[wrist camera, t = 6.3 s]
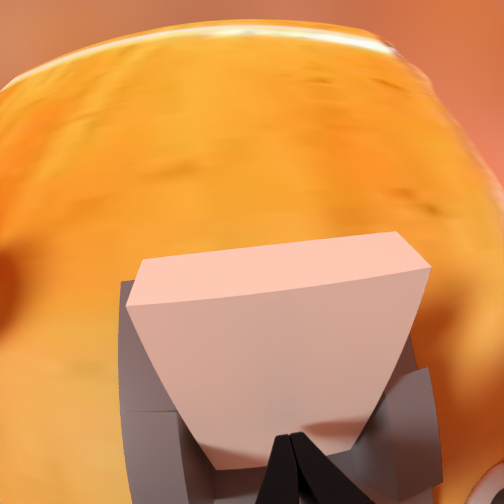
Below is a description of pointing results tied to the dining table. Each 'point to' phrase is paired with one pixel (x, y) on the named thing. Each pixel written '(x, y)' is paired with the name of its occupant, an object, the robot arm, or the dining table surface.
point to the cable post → (489, 487)
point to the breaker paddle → (278, 338)
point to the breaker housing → (249, 479)
